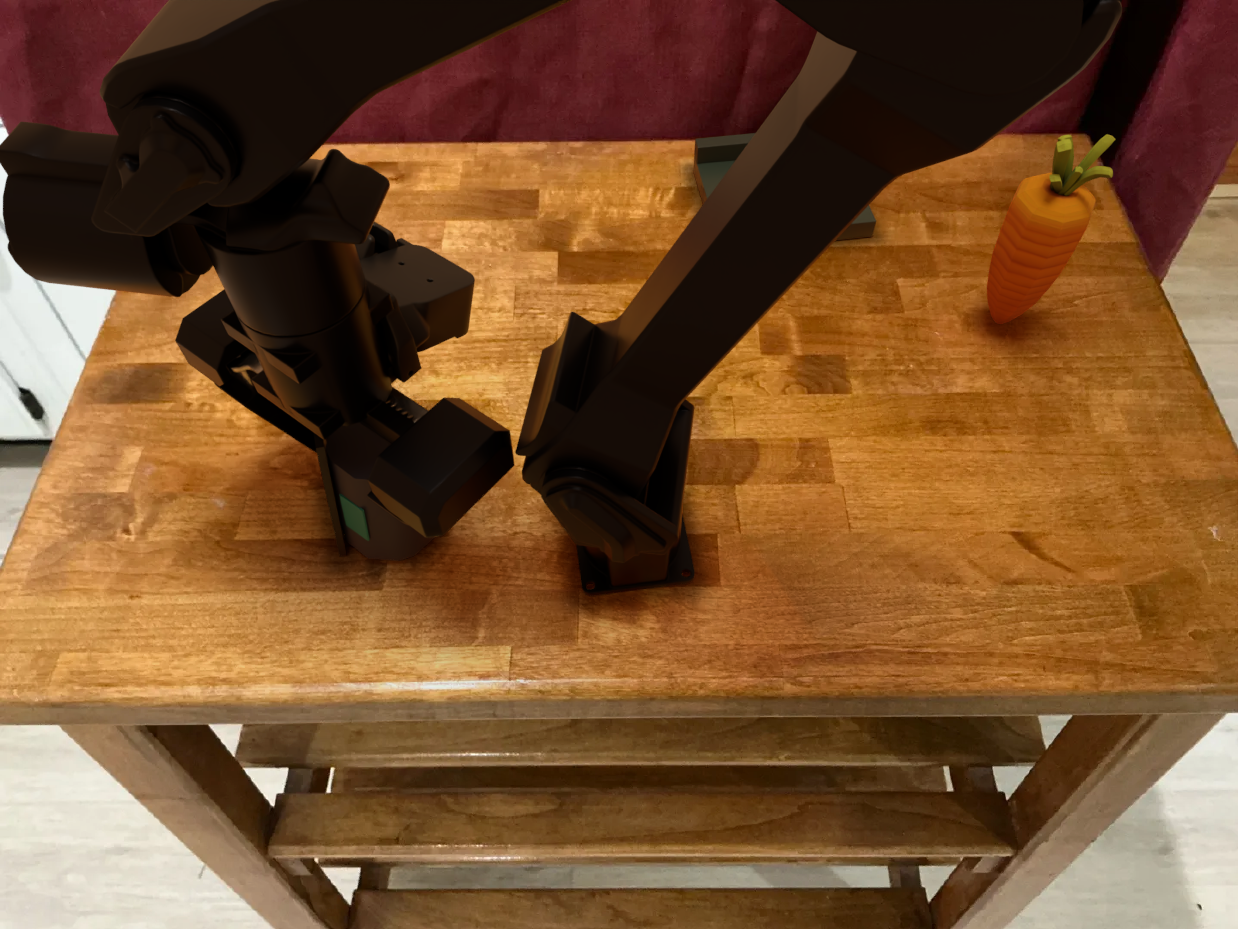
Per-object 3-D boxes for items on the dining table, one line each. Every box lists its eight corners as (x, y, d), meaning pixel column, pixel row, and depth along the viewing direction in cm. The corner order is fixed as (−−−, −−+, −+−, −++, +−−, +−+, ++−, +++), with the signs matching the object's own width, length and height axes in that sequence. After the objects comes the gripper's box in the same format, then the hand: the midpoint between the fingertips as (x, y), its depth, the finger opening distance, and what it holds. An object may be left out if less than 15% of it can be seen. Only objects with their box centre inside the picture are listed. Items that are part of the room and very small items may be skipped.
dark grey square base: (872, 236, 69) (881, 204, 66) (717, 252, 68) (720, 220, 66) (836, 156, 75) (843, 124, 72) (692, 170, 74) (695, 138, 71)
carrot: (1028, 299, 65) (1120, 111, 52) (1040, 350, 62) (1141, 164, 50) (957, 295, 65) (1033, 106, 53) (966, 346, 62) (1048, 159, 50)
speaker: (304, 563, 53) (265, 453, 44) (329, 484, 56) (297, 368, 48) (435, 575, 53) (420, 468, 45) (451, 495, 56) (440, 382, 48)
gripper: (579, 279, 40) (587, 475, 53) (297, 123, 47) (365, 332, 60) (400, 438, 35) (457, 613, 48) (111, 239, 42) (230, 440, 54)
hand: (376, 485), depth 53 cm, fingers closed on speaker, 8 cm apart
